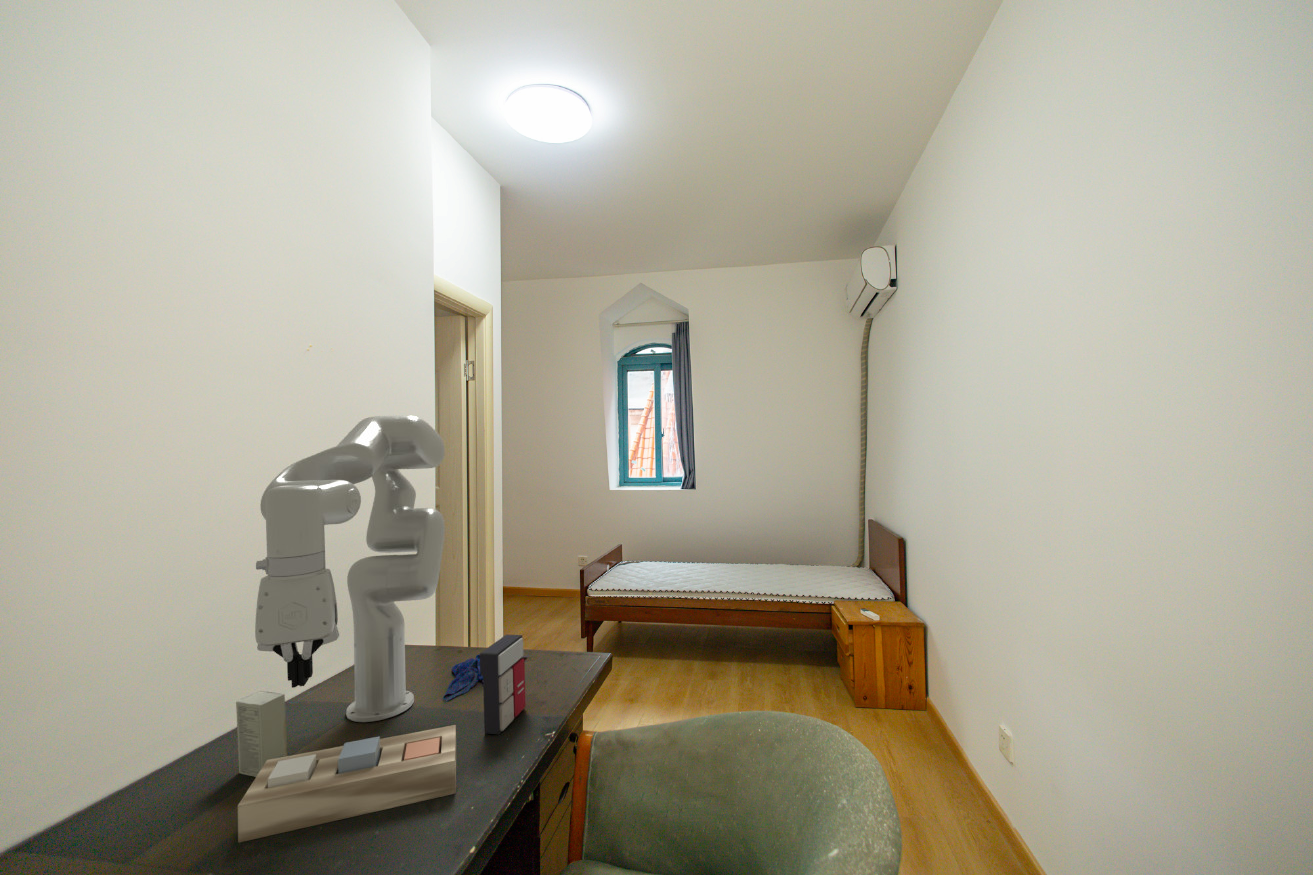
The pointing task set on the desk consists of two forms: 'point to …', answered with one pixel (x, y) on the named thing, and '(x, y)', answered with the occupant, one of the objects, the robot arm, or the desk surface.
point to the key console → (348, 786)
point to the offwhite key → (292, 771)
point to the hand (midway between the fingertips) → (300, 682)
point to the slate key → (359, 755)
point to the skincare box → (260, 730)
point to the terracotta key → (422, 748)
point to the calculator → (503, 682)
